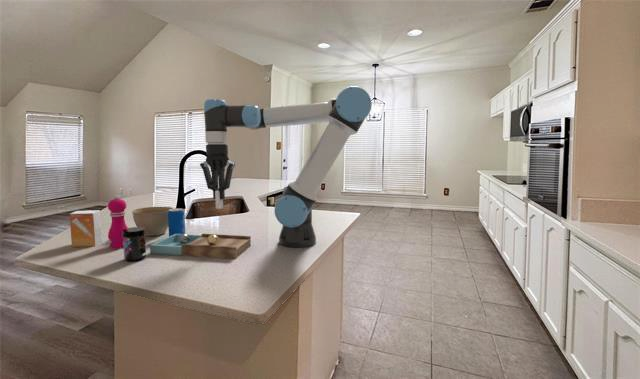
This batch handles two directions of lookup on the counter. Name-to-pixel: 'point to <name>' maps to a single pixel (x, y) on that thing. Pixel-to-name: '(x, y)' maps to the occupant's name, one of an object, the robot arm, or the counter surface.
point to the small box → (85, 228)
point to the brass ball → (212, 240)
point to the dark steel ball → (183, 238)
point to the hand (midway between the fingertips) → (219, 208)
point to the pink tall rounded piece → (117, 222)
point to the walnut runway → (218, 246)
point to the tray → (170, 245)
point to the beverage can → (176, 221)
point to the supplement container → (134, 244)
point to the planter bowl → (152, 219)
